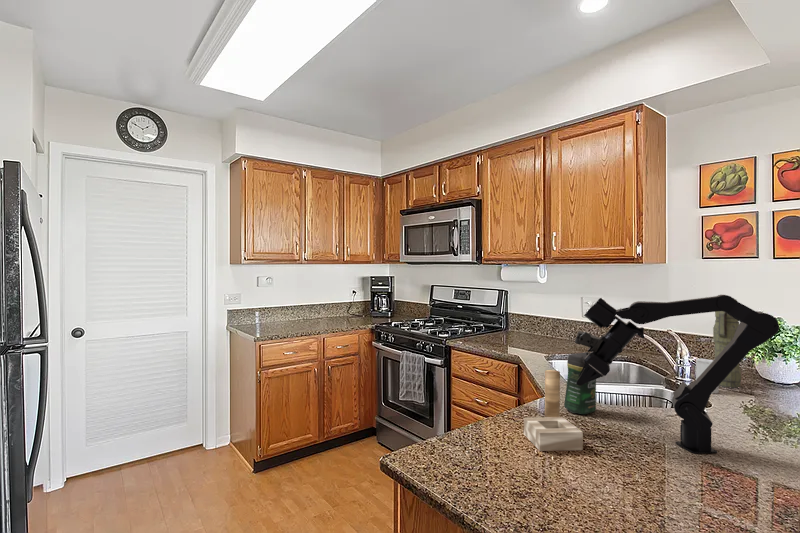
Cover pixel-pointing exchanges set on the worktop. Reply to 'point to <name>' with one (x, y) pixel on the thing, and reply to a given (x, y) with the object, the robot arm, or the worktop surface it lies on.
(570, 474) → the worktop surface
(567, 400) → the coffee jar
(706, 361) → the skincare box
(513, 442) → the worktop surface
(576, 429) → the socket block
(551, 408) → the wooden stick
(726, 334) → the thermos
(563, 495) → the worktop surface
